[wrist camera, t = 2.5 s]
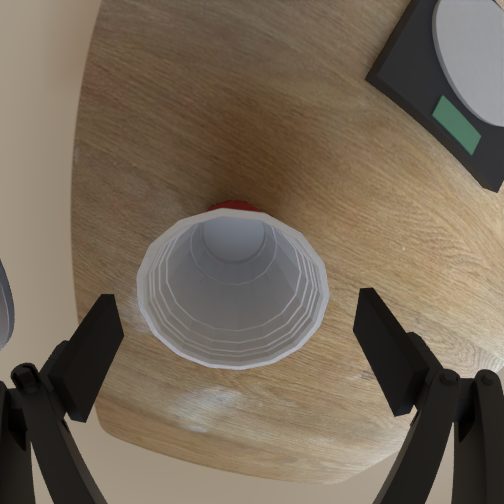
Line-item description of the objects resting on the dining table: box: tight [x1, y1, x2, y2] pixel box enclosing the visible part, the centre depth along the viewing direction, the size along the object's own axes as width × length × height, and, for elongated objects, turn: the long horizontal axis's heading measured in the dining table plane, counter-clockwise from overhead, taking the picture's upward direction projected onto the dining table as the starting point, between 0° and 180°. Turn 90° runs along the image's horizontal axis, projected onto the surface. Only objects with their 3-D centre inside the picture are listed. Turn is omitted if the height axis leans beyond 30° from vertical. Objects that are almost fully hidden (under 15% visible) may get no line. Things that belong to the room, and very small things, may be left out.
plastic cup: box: [136, 200, 330, 370], centre depth 22 cm, size 11×11×12 cm
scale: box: [365, 0, 504, 193], centre depth 21 cm, size 18×20×3 cm
